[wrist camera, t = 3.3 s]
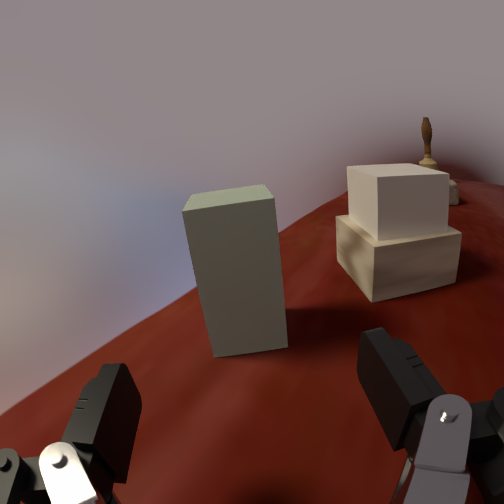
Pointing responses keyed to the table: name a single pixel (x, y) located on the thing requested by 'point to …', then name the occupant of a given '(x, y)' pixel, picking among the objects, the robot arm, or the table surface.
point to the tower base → (397, 260)
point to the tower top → (398, 200)
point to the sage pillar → (238, 268)
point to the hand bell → (427, 145)
